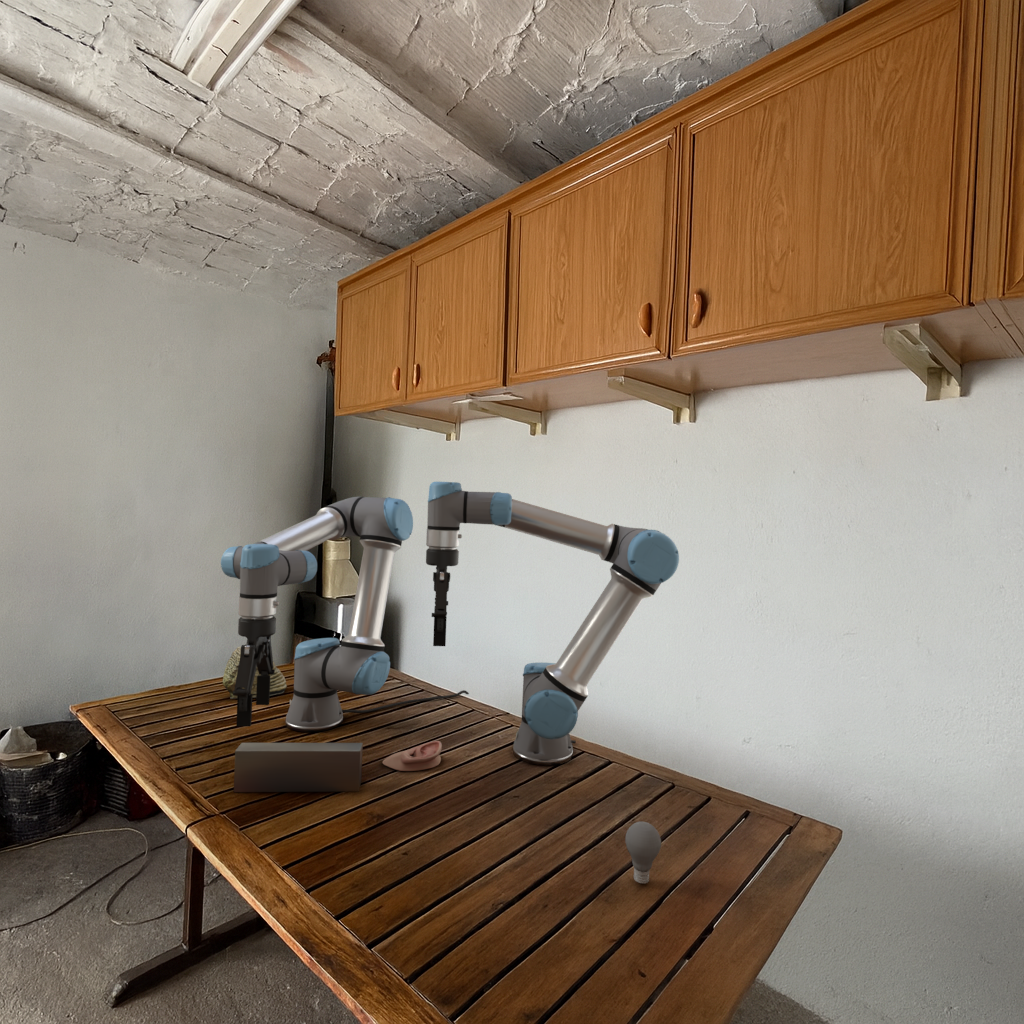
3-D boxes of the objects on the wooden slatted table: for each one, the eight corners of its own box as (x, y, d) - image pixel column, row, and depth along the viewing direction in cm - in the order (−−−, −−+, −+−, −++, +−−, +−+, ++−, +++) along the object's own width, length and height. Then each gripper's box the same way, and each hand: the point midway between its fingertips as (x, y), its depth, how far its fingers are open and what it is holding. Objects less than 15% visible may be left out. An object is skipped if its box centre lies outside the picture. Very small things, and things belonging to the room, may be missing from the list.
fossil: (218, 695, 195) (220, 647, 195) (278, 685, 208) (279, 640, 207) (228, 703, 189) (230, 653, 188) (289, 692, 201) (290, 645, 201)
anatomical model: (377, 751, 149) (396, 733, 160) (377, 767, 149) (395, 749, 160) (431, 758, 146) (446, 740, 157) (430, 775, 146) (445, 756, 157)
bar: (233, 792, 134) (235, 750, 134) (240, 782, 139) (241, 742, 138) (358, 791, 137) (360, 750, 137) (361, 782, 141) (362, 742, 141)
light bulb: (619, 871, 111) (622, 814, 111) (652, 871, 112) (655, 814, 111) (628, 892, 105) (631, 832, 105) (663, 892, 106) (666, 832, 105)
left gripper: (258, 628, 124) (254, 736, 124) (289, 607, 149) (286, 696, 149) (218, 627, 123) (214, 735, 123) (256, 606, 148) (252, 696, 148)
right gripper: (460, 553, 135) (457, 652, 136) (457, 544, 160) (454, 628, 160) (425, 552, 134) (421, 651, 135) (427, 543, 159) (424, 627, 159)
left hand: (253, 714), depth 136 cm, fingers open, 13 cm apart
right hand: (439, 639), depth 147 cm, fingers open, 13 cm apart
